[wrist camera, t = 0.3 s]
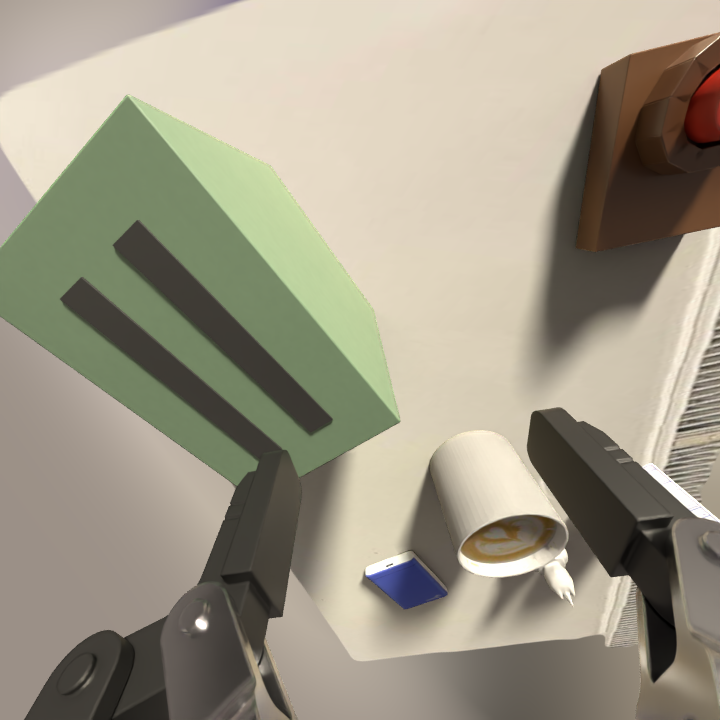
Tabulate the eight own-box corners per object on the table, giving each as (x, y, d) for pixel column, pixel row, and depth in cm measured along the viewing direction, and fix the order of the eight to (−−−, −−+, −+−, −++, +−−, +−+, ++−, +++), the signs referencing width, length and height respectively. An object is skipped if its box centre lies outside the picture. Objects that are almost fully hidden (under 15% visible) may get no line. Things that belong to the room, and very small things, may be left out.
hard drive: (448, 595, 47) (414, 560, 42) (403, 610, 49) (365, 578, 44) (445, 584, 48) (412, 549, 43) (402, 599, 50) (365, 566, 45)
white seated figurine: (521, 555, 45) (554, 620, 38) (513, 532, 42) (547, 598, 35) (557, 545, 44) (597, 610, 37) (552, 521, 41) (594, 587, 34)
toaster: (187, 241, 23) (-43, 294, 9) (270, 165, 20) (125, 91, 7) (299, 360, 28) (253, 504, 14) (373, 309, 26) (401, 423, 12)
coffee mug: (418, 447, 34) (443, 534, 25) (504, 418, 32) (563, 500, 23) (449, 513, 40) (478, 602, 31) (523, 491, 38) (576, 578, 29)
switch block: (600, 69, 19) (659, 37, 15) (750, 33, 18) (847, -9, 15) (575, 248, 24) (614, 256, 20) (690, 224, 23) (751, 228, 20)
